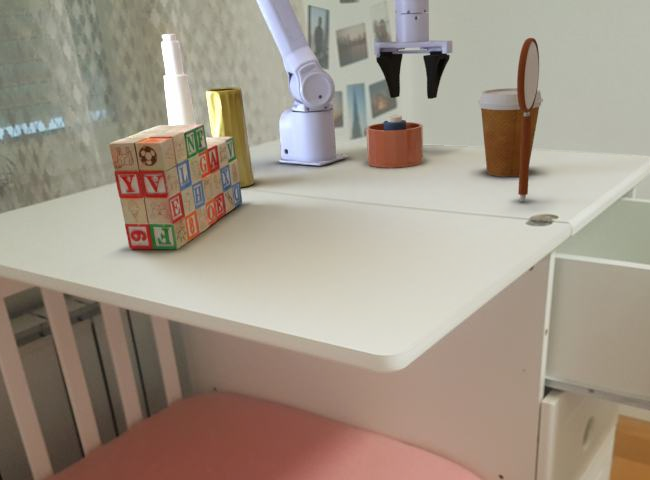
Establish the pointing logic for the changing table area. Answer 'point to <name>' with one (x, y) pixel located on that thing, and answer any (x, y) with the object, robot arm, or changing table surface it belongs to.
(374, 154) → the cup
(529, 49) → the magnifying glass
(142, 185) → the stack of blocks
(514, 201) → the changing table surface
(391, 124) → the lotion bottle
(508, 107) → the disposable coffee cup
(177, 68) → the cosmetic bottle
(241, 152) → the vase
